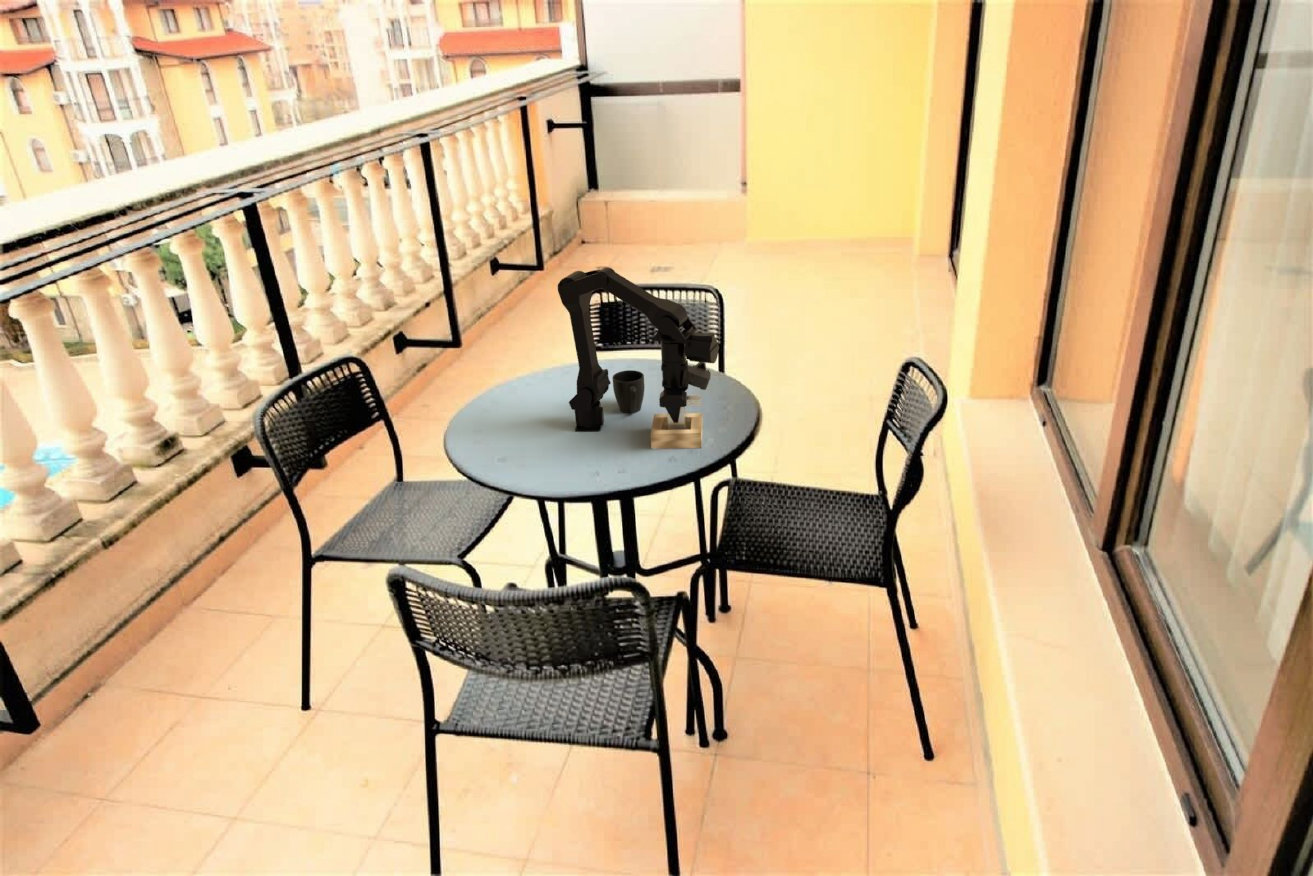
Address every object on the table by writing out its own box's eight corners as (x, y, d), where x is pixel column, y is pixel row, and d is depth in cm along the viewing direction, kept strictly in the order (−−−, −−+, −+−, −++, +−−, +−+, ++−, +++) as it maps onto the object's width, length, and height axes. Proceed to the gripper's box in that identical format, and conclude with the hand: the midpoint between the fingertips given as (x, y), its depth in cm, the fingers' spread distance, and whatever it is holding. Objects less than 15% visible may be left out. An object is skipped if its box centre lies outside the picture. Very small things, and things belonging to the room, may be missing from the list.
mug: (618, 423, 215) (615, 389, 211) (613, 404, 226) (610, 371, 222) (650, 419, 216) (648, 385, 212) (643, 401, 227) (641, 368, 223)
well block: (651, 448, 202) (650, 433, 200) (654, 428, 212) (654, 414, 210) (701, 448, 201) (700, 433, 199) (702, 427, 211) (702, 413, 209)
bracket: (668, 431, 203) (666, 401, 200) (669, 424, 207) (667, 394, 203) (701, 431, 203) (700, 401, 199) (701, 423, 206) (700, 394, 203)
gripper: (707, 373, 188) (708, 435, 195) (708, 343, 204) (710, 402, 211) (657, 374, 189) (661, 436, 196) (663, 344, 205) (666, 402, 212)
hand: (676, 418), depth 204 cm, fingers closed on bracket, 4 cm apart
